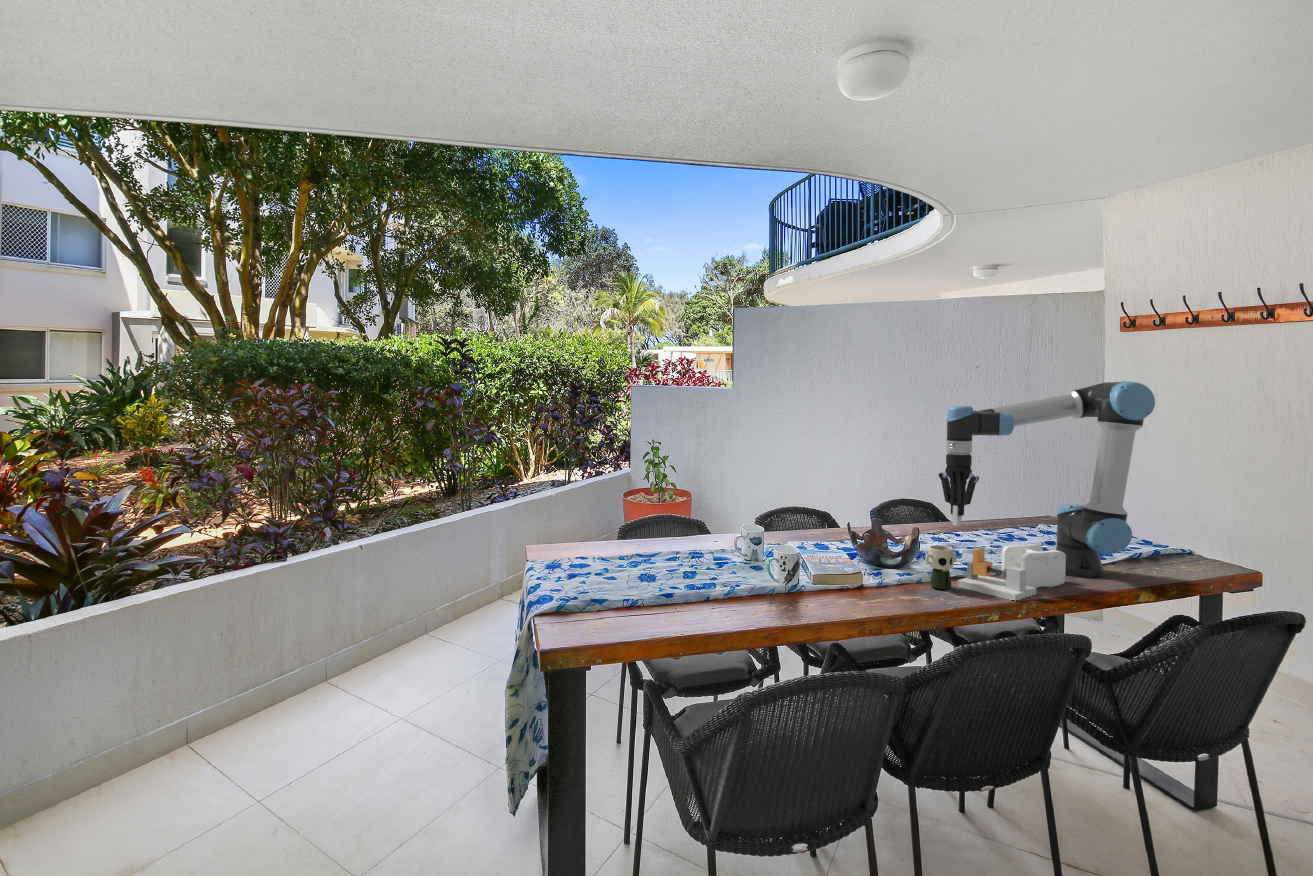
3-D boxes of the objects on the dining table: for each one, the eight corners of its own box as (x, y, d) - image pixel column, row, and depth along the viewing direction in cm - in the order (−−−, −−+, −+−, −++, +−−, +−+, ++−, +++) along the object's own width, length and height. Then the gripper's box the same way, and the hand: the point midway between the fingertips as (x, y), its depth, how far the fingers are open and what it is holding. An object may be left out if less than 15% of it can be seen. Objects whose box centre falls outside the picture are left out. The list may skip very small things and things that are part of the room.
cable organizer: (1040, 577, 207) (1041, 543, 206) (1066, 587, 196) (1067, 551, 196) (1000, 580, 204) (1001, 546, 203) (1025, 590, 194) (1026, 553, 193)
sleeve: (979, 571, 201) (980, 547, 200) (992, 574, 197) (992, 549, 197) (972, 573, 199) (973, 549, 198) (984, 576, 195) (985, 551, 195)
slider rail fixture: (979, 580, 205) (979, 555, 205) (1036, 594, 190) (1037, 567, 189) (957, 586, 199) (958, 561, 198) (1015, 601, 184) (1015, 574, 183)
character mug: (933, 592, 193) (933, 551, 192) (918, 586, 200) (918, 546, 199) (963, 589, 195) (963, 549, 195) (947, 583, 202) (948, 543, 201)
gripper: (933, 452, 206) (932, 522, 208) (971, 455, 195) (969, 529, 197) (947, 451, 210) (945, 520, 212) (985, 454, 199) (982, 527, 201)
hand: (957, 524), depth 204 cm, fingers closed
